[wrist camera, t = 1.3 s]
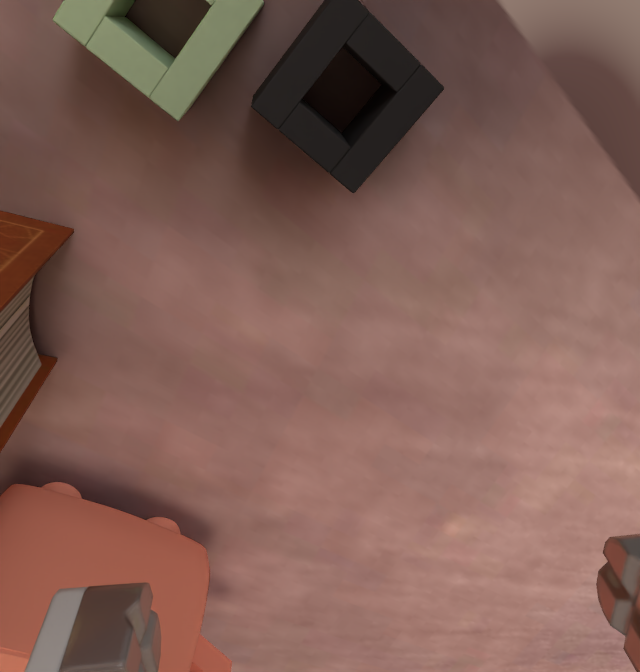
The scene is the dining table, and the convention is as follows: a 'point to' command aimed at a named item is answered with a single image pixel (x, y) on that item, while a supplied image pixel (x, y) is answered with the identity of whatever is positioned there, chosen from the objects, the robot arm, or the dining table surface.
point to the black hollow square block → (375, 117)
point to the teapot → (98, 571)
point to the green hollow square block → (158, 47)
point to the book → (21, 313)
